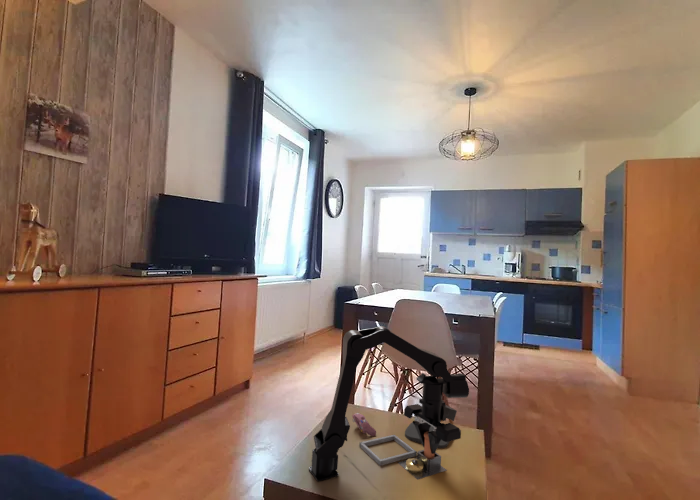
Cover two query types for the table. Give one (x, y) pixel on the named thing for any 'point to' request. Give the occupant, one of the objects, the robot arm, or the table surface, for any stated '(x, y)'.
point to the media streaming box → (414, 436)
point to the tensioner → (423, 465)
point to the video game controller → (363, 424)
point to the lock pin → (427, 446)
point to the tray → (384, 461)
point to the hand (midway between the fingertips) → (429, 450)
